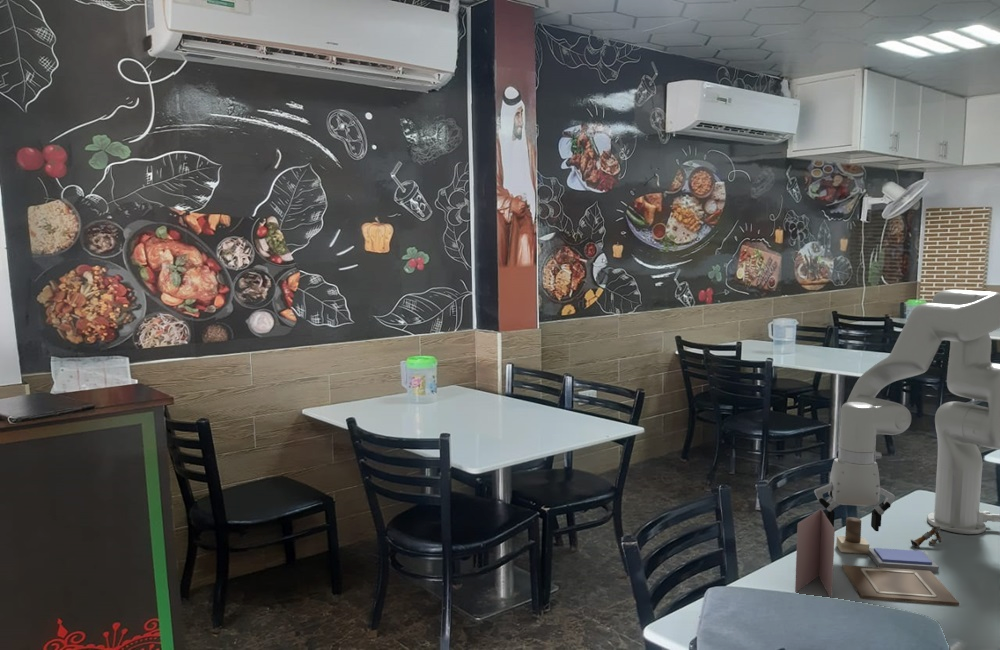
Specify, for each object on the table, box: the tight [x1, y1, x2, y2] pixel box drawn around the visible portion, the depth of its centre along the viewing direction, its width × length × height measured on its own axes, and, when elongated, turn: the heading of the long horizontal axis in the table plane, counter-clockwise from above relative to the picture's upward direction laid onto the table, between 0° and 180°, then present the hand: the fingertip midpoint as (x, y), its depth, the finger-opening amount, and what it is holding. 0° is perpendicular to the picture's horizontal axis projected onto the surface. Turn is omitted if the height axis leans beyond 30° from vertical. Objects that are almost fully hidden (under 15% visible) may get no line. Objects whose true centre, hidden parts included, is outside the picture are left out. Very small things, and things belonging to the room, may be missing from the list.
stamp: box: [836, 516, 870, 556], centre depth 166 cm, size 6×4×8 cm, turn 79°
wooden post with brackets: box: [910, 526, 943, 549], centre depth 169 cm, size 2×8×4 cm, turn 106°
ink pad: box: [868, 547, 940, 573], centre depth 160 cm, size 12×8×2 cm, turn 79°
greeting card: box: [794, 508, 836, 598], centre depth 148 cm, size 11×7×15 cm, turn 133°
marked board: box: [841, 564, 960, 606], centre depth 149 cm, size 18×14×1 cm
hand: (852, 527), depth 166 cm, fingers open, 9 cm apart
